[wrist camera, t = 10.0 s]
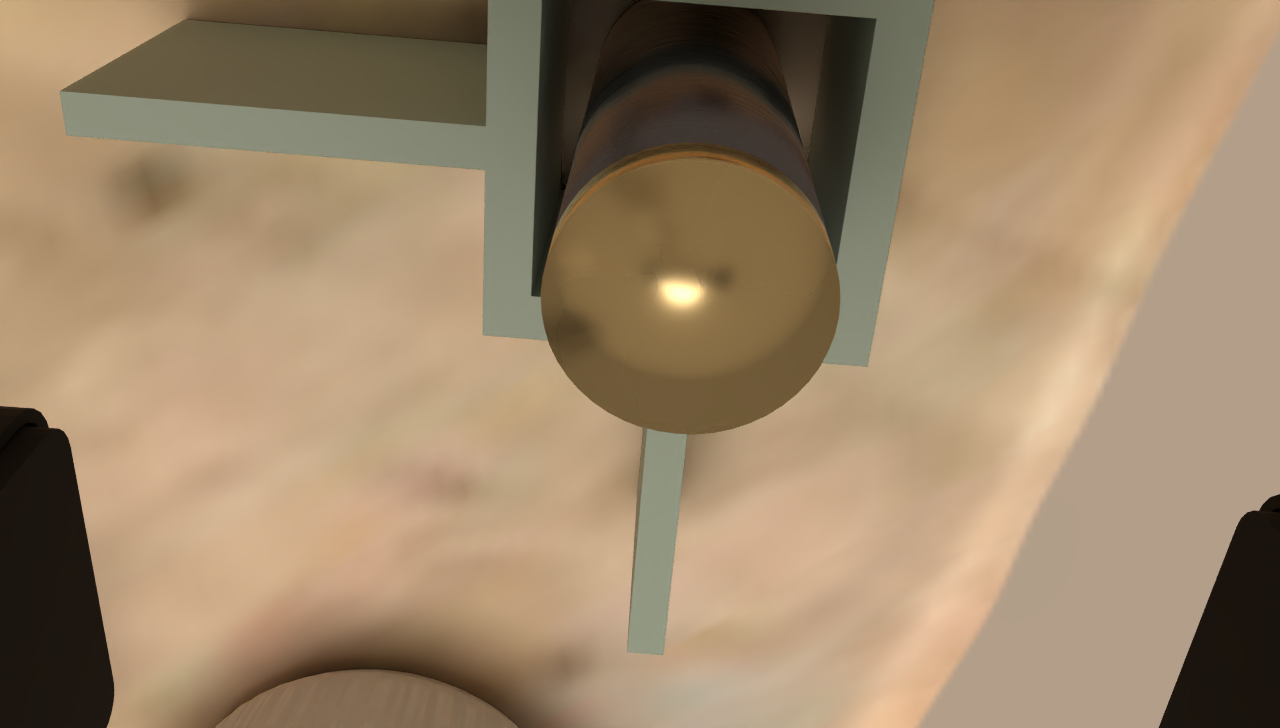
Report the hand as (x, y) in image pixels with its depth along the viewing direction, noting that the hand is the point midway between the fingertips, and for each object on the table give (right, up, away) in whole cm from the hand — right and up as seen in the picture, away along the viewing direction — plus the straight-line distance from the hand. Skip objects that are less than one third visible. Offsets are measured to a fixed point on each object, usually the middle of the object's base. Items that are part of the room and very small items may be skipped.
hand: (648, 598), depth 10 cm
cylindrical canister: (+1, +8, +17) cm, 19 cm away
